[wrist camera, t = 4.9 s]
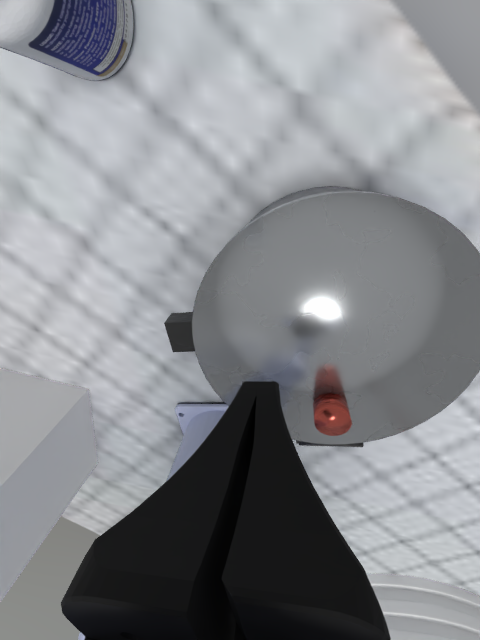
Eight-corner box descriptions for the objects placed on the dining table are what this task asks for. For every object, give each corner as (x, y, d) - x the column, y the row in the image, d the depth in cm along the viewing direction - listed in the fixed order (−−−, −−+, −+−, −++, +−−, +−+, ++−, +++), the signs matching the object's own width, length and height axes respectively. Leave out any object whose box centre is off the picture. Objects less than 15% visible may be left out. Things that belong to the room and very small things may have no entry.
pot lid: (453, 441, 17) (472, 473, 15) (221, 435, 19) (215, 462, 18) (526, 163, 10) (574, 164, 9) (167, 214, 13) (148, 222, 11)
